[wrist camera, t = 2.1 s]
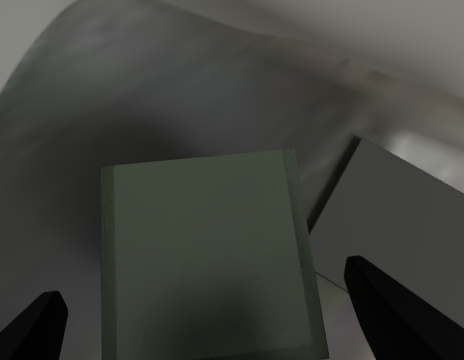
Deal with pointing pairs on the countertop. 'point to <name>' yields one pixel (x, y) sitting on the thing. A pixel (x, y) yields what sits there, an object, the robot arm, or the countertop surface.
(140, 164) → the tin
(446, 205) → the mat
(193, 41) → the countertop surface
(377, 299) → the robot arm
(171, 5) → the countertop surface
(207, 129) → the countertop surface
